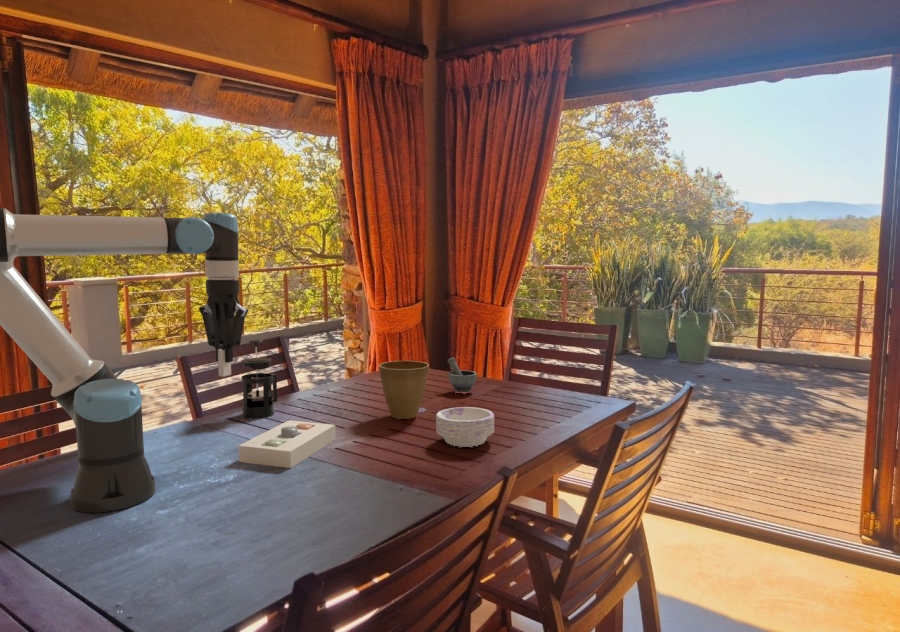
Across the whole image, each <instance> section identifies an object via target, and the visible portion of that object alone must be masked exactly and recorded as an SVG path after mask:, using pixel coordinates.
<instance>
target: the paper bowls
mask: <svg viewBox="0 0 900 632" xmlns="http://www.w3.org/2000/svg"><path fill="white" fill-rule="evenodd" d="M435 418H436V419H435V425H436V428H435V429H436V430H435V431H436V434H437V435H439V436H441V437H443V439H444V441H445V442H446V444H448V445H449V444H450V445H449V446H452V445H453V446H452V447H455V446H458V447H457V448H462V447H470V448H474V447H473V446H476V447H479V446H478V445H480V446H481V444H482V445H483V444H485V442H486V440H487V438H488V437H490V436H492V435H493V434H494V433H495V413H493V412H492V411H491V410H489V409H486V408H482V407H473V406H472V407H470V406H469V407H468V406H460V407H450V408H445V409H442V410H441V409H440V410H439V411H438V412H436V415H435Z"/></svg>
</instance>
